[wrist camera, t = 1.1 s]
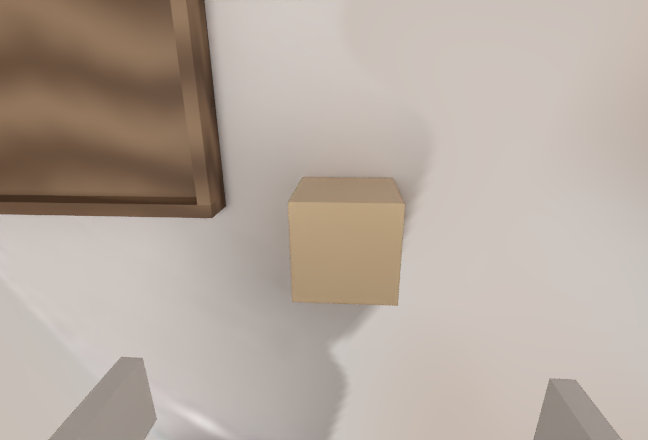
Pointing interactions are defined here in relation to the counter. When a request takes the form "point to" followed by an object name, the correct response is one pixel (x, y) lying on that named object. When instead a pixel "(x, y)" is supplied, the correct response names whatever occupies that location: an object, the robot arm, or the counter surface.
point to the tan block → (346, 240)
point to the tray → (107, 109)
